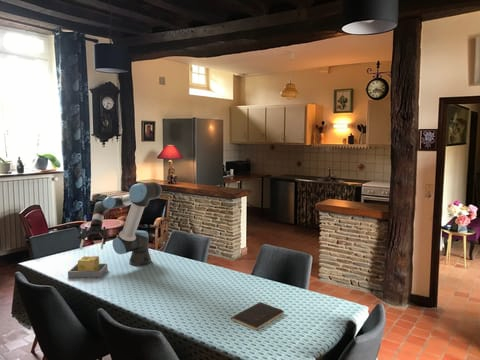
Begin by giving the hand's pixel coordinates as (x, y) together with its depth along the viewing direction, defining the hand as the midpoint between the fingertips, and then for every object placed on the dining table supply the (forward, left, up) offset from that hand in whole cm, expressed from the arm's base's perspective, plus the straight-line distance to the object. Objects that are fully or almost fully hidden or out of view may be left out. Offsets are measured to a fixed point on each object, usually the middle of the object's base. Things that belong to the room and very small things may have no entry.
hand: (91, 248), depth 250 cm
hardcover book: (-105, +70, -16) cm, 127 cm away
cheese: (0, +7, -15) cm, 16 cm away
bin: (0, +6, -15) cm, 17 cm away
